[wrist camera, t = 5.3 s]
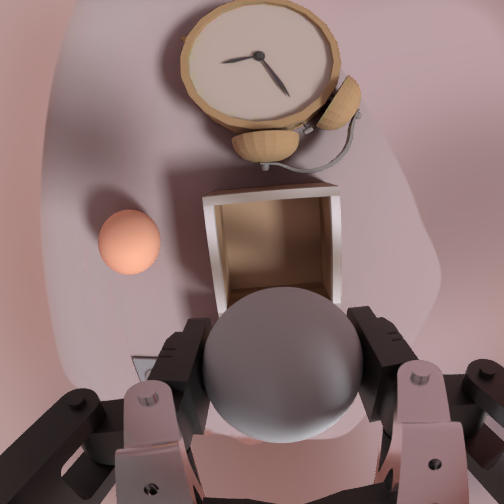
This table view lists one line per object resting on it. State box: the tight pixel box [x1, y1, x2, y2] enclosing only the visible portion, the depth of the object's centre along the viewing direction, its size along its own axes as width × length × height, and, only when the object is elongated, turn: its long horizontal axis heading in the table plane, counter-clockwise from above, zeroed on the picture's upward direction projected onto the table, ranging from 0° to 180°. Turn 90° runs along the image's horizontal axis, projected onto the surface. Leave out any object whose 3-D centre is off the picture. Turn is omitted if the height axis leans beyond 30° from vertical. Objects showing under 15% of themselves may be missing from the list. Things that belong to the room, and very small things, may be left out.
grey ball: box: [202, 287, 363, 443], centre depth 9 cm, size 5×5×5 cm
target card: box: [133, 357, 157, 382], centre depth 28 cm, size 5×8×1 cm, turn 95°
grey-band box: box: [202, 182, 342, 318], centre depth 22 cm, size 9×9×5 cm
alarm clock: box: [180, 0, 362, 174], centre depth 19 cm, size 11×5×15 cm
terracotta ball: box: [98, 209, 161, 275], centre depth 22 cm, size 5×5×5 cm
